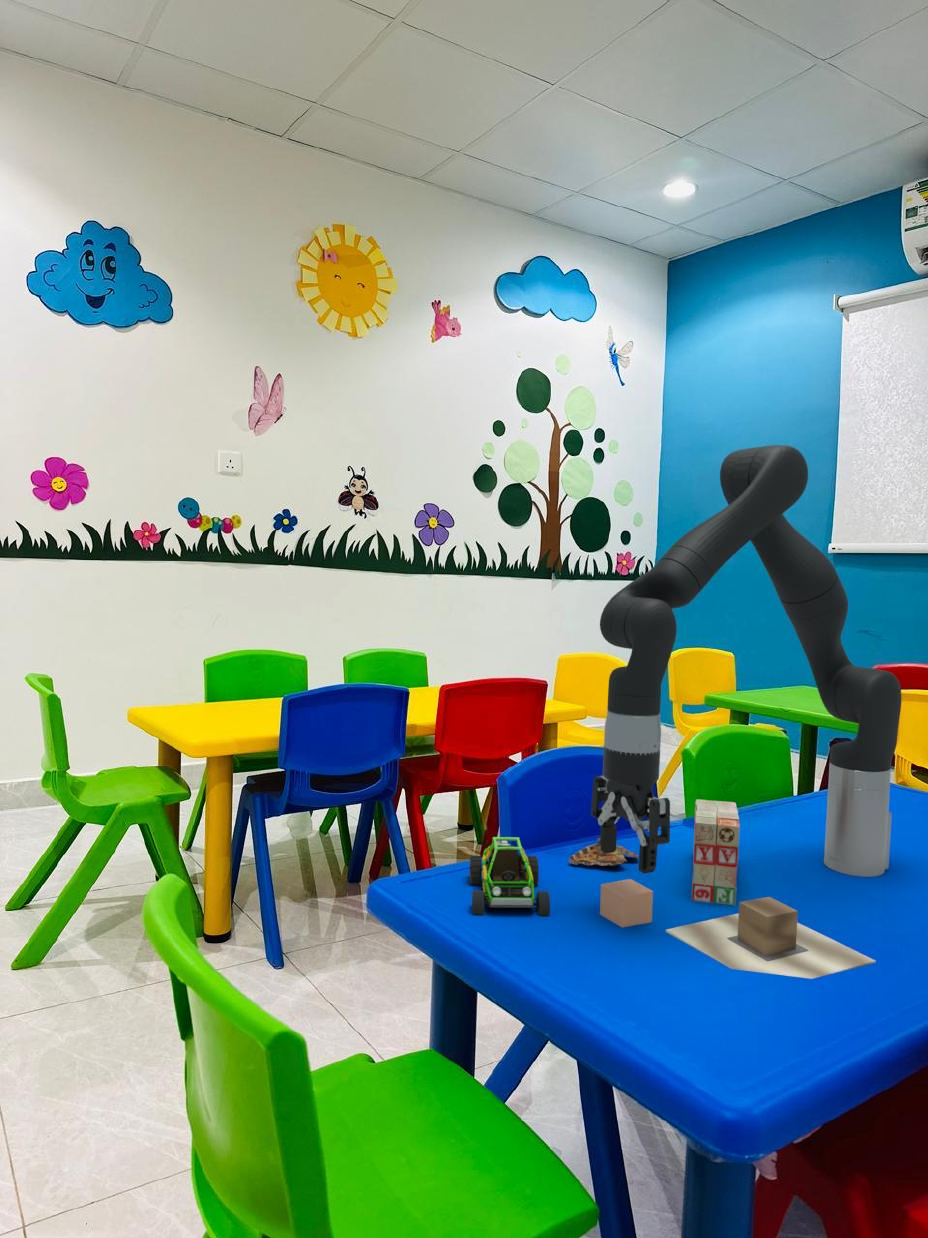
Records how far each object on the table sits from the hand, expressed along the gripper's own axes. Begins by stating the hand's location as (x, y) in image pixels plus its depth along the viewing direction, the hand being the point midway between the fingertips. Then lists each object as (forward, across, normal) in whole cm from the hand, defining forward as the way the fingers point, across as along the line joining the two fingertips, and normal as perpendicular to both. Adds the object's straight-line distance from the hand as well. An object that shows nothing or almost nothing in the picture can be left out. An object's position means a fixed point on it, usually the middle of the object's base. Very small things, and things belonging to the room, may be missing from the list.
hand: (626, 861), depth 122 cm
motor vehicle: (+9, +15, +10) cm, 20 cm away
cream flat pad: (+8, -15, -11) cm, 21 cm away
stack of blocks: (+9, +8, -23) cm, 26 cm away
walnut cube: (+7, -15, -11) cm, 20 cm away
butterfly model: (+10, +18, -11) cm, 23 cm away
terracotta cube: (+9, 0, 0) cm, 9 cm away
